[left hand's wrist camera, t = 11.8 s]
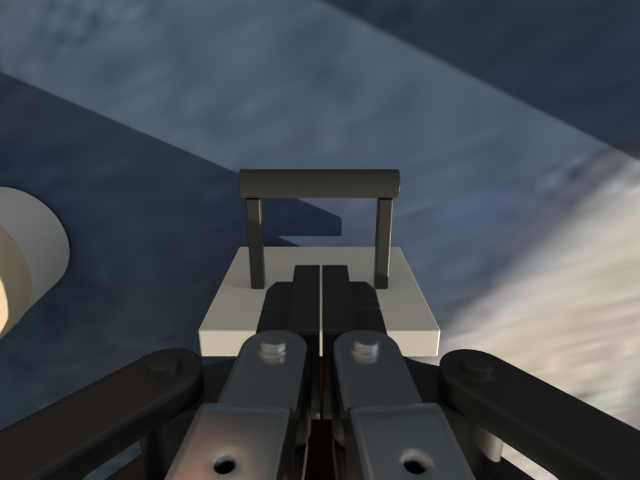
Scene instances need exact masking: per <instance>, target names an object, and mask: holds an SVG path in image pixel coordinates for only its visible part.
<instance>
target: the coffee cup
mask: <svg viewBox="0 0 640 480" xmlns="http://www.w3.org/2000/svg"><path fill="white" fill-rule="evenodd" d="M69 254H70V251H69V243H68V238H67V235H66V232H65V230H64V228H63V226H62V224H61V223H60V221H59V220H58V218H57V217H56V216H55V214H54V213H53V212H52V211H51V210H50V209H49V208H48V207H47V206H46V205H45V204H43V203H42V202H41V201H39V200H38V199H36V198H35V197H33V196H31V195H29V194H27V193H25V192H23V191H20V190H17V189H13V188H8V187H0V339H1V338H2V337H3V336H4V335H5V334H6V333H7V332H8V331H10V330H11V329H12V328H13V327H14V326H15V325H16V324H17V323H18V322H19V320H20V319H21V318H22V317H23V315H24V314H25V312H26V311H27V310H28V309H29V308H31V307H32V306H33V305H34V304H35V303H36V302H37V301H38V300H39V299H40V298H41V297H42V296H43V295H44V294H45V293H46V292H47V291H48V290H50V289H51V288H52V287H53V286H54V285H55V284H56V283H57V282H58V281H59V280H60V279H61V277H62V276H63V274H64V273H65V271H66V269H67V266H68V262H69Z"/></svg>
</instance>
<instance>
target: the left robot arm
mask: <svg viewBox="0 0 640 480" xmlns="http://www.w3.org/2000/svg"><path fill="white" fill-rule="evenodd" d="M322 379H323V419H332V454H333V462H334V470H335V477H336V480H535V479H533V478H532V477H531V476H529V475H528V474H526V473H525V472H523V471H522V470H520V469H519V468H518V467H516V466H515V465H513V464H512V463H510V462H509V461H508V460H506V459H505V458H503V457H502V456H501V453H502V448H503V443H504V442H505V443H506V444H508V445H509V446H511V447H512V448H514V449H515V450H517V451H518V452H520V453H521V454H523V455H524V456H526V457H527V458H529V459H530V460H532V461H533V462H535V463H536V464H538V465H539V466H541V467H542V468H544V469H545V470H547V471H548V472H550V473H551V474H553V475H554V476H555V477H556V478H558V479H559V480H640V431H639V430H637V429H635V428H633V427H632V426H630V425H628V424H626V423H624V422H622V421H620V420H618V419H616V418H614V417H612V416H610V415H608V414H606V413H604V412H602V411H600V410H598V409H597V408H595V407H593V406H591V405H589V404H587V403H585V402H583V401H581V400H579V399H577V398H575V397H573V396H571V395H569V394H567V393H565V392H563V391H562V390H560V389H558V388H556V387H554V386H552V385H550V384H548V383H546V382H544V381H542V380H540V379H538V378H536V377H534V376H532V375H530V374H529V373H527V372H525V371H523V370H521V369H519V368H517V367H515V366H513V365H511V364H509V363H507V362H505V361H503V360H501V359H499V358H497V357H495V356H493V355H491V354H488V353H485V352H482V351H478V350H471V349H460V350H454V351H451V352H448V353H446V354H445V355H444V356H443V357H442V358H441V360H440V366H436V365H431V364H426V363H422V362H418V361H414V360H412V359H409V358H407V357H405V356H403V355H402V353H401V351H400V348H399V346H398V344H397V343H396V342H395V341H394V340H393V339H392V338H391V337H389V336H388V334H387V330H386V327H385V323H384V319H383V316H382V312H381V310H380V305H379V302H378V297H377V293H376V290H375V289H374V288H373V287H372V286H371V285H369V284H368V283H367V282H366V281H350V280H349V273H348V266H347V265H322ZM311 419H320V265H295V268H294V275H293V282H275V283H274V284H273V285H272V286H271V287H270V288H268V289H267V291H266V295H265V299H264V302H263V306H262V310H261V314H260V318H259V322H258V326H257V330H256V333H255V334H254V335H252V336H251V337H249V338H248V339H247V340H246V341H245V342H244V343H243V344H242V346H241V348H240V351H239V353H238V355H237V357H236V358H234V359H232V360H229V361H226V362H222V363H218V364H213V365H208V366H203V367H202V361H201V358H200V357H199V355H198V354H196V353H195V352H193V351H191V350H187V349H181V348H173V349H165V350H160V351H157V352H154V353H151V354H149V355H147V356H145V357H143V358H141V359H139V360H137V361H135V362H133V363H131V364H129V365H127V366H125V367H123V368H121V369H119V370H117V371H115V372H113V373H111V374H110V375H108V376H106V377H104V378H102V379H100V380H98V381H96V382H94V383H92V384H90V385H88V386H86V387H84V388H82V389H80V390H78V391H77V392H75V393H73V394H71V395H69V396H67V397H65V398H63V399H61V400H59V401H57V402H55V403H53V404H51V405H49V406H47V407H45V408H43V409H42V410H40V411H38V412H36V413H34V414H32V415H30V416H28V417H26V418H24V419H22V420H20V421H18V422H16V423H14V424H12V425H10V426H8V427H7V428H5V429H3V430H1V431H0V480H82V479H83V478H84V477H85V476H86V475H88V474H89V473H90V472H92V471H93V470H95V469H96V468H98V467H99V466H101V465H102V464H104V463H105V462H107V461H108V460H110V459H111V458H113V457H114V456H116V455H117V454H119V453H120V452H122V451H123V450H125V449H126V448H128V447H129V446H131V445H132V444H134V443H135V442H137V441H138V440H139V441H140V446H141V451H142V454H141V455H140V456H138V457H137V458H135V459H134V460H132V461H131V462H130V463H128V464H127V465H125V466H124V467H122V468H121V469H120V470H118V471H117V472H115V473H114V474H112V475H111V476H109V477H108V478H107V479H105V480H304V477H305V469H306V462H307V454H308V438H309V435H310V432H311Z"/></svg>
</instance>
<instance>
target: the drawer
mask: <svg viewBox="0 0 640 480" xmlns="http://www.w3.org/2000/svg"><path fill="white" fill-rule="evenodd" d="M238 186H239V194H240V197H241V198H247V199H246V214H247V230H248V247H239V249H238V251H237V254H236V256H235V258H234V260H233V262H232V264H231V266H230V268H229V270H228V272H227V274H226V276H225V278H224V280H223V282H222V284H221V286H220V288H219V290H218V292H217V294H216V296H215V298H214V300H213V302H212V304H211V306H210V308H209V310H208V312H207V314H206V316H205V318H204V320H203V322H202V324H201V326H200V328H199V330H198V331H199V340H200V349H201V355H202V356H232V359H234V358H236V357H237V355H238V353H239V351H240V348H241V346H242V344H243V343H244V342H245V341H246V340H247V339H248V338H249V337H251V336H252V335H254V334H255V333H256V330H257V326H258V322H259V318H260V314H261V310H262V306H263V302H264V299H265V295H266V291H267V289H268V288H270V287H271V286H272V285H273V284H274V283H275V282H293V275H294V268H295V265H320V419H311V432H310V435H309V438H308V454H307V462H306V469H305V477H304V480H336V477H335V470H334V462H333V454H332V419H323V379H322V265H347V266H348V273H349V280H350V281H366V282H367V283H368V284H369V285H371V286H372V287H373V288H374V289H375V290H376V293H377V297H378V302H379V305H380V310H381V312H382V316H383V319H384V323H385V327H386V330H387V334H388V336H389V337H391V338H392V339H393V340H394V341H395V342H396V343H397V344H398V346H399V348H400V351H401V353H402V355H403V356H405V357H406V356H437V354H438V345H439V336H440V329H439V327H438V325H437V323H436V321H435V319H434V317H433V315H432V313H431V311H430V309H429V307H428V305H427V303H426V301H425V299H424V297H423V295H422V292H421V290H420V288H419V286H418V284H417V282H416V280H415V278H414V276H413V274H412V272H411V270H410V268H409V266H408V264H407V262H406V260H405V258H404V256H403V254H402V252H401V250H400V247H390V243H391V227H392V211H393V199H392V198H398V196H399V193H400V172H399V170H398V169H241V170H240V172H239V178H238ZM261 198H377V218H376V239H375V247H264V242H263V221H262V200H261ZM232 359H231V360H232Z"/></svg>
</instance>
